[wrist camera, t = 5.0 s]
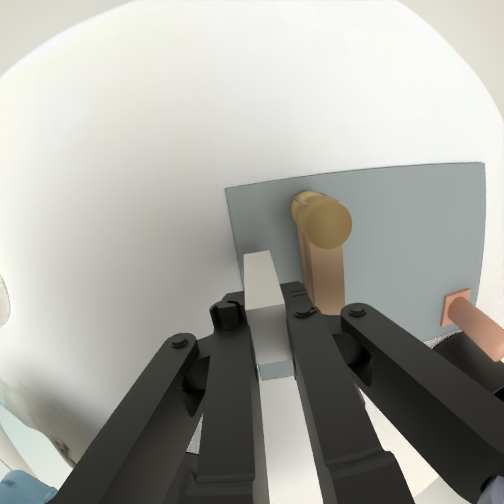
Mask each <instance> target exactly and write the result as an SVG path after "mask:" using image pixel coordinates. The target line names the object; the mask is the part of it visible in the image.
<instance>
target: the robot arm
mask: <svg viewBox="0 0 504 504" xmlns="http://www.w3.org/2000/svg"><path fill="white" fill-rule="evenodd" d="M244 287H245V291H240V292H234V293H228V294H226V295H225V296H224V298H223V299H222V301H220V302H217V303H215V304H214V305H213V306H211V308H210V310H209V311H210V314H211V318H212V322H213V325H214V333H213V334H211V335H210V336H207V337H205V338H202V339H199V340H196V337H195V336H194V335H193V334H190V333H179V334H176V335H173V336H172V337H170V338H168V339H167V340H166V341H165V342H164V344H163V345H162V346H161V348H160V349H159V350H158V352H157V353H156V354H155V356H154V357H153V359H152V360H151V361H150V363H149V364H148V365H147V367H146V368H145V370H144V371H143V372H142V374H141V375H140V376H139V378H138V379H137V380H136V382H135V383H134V385H133V386H132V387H131V389H130V390H129V392H128V393H127V394H126V396H125V397H124V398H123V400H122V401H121V403H120V404H119V405H118V407H117V408H116V410H115V411H114V412H113V414H112V415H111V417H110V418H109V419H108V421H107V422H106V424H105V425H104V426H103V428H102V429H101V431H100V432H99V433H98V435H97V436H96V438H95V439H94V440H93V442H92V443H91V445H90V446H89V448H88V449H87V450H86V452H85V453H84V455H83V456H82V458H81V459H80V460H79V462H78V463H77V465H76V466H75V468H74V469H73V470H72V472H71V473H70V475H69V476H68V478H67V479H66V481H65V482H64V483H63V485H62V486H61V488H60V489H59V491H58V490H57V489H55V488H54V487H50V486H48V485H46V484H44V483H43V482H41V481H39V480H38V479H36V478H35V477H33V476H31V475H30V474H28V473H26V472H24V471H21V470H13V471H10V472H9V473H8V474H7V475H6V476H5V477H4V478H3V480H2V481H1V482H0V504H270V501H269V490H268V479H267V468H266V457H265V446H264V435H263V423H262V412H261V400H260V389H259V377H258V370H257V365H261V364H267V363H273V362H279V361H285V360H291V359H292V361H293V369H294V377H295V380H296V381H297V385H298V390H299V394H300V398H301V403H302V407H303V412H304V416H305V420H306V425H307V429H308V434H309V438H310V443H311V447H312V452H313V457H314V461H315V466H316V470H317V475H318V480H319V484H320V489H321V494H322V498H323V503H324V504H415V502H414V500H413V497H412V495H411V492H410V490H409V487H408V485H407V483H406V480H405V478H404V476H403V473H402V471H401V469H400V466H399V464H398V462H397V460H396V458H395V456H394V454H393V453H392V452H390V451H385V450H384V449H383V448H382V446H381V444H380V441H379V439H378V437H377V434H376V432H375V430H374V427H373V425H372V423H371V420H370V418H369V416H368V413H367V411H366V409H365V407H364V404H363V402H362V400H361V398H360V395H359V393H358V391H357V389H356V386H355V384H354V382H355V383H356V384H357V386H358V387H359V388H360V389H361V390H362V391H363V392H364V393H365V394H366V396H367V397H368V398H369V399H370V400H371V401H372V402H373V403H374V404H375V406H376V407H377V408H378V409H379V410H380V411H381V412H382V413H383V414H384V415H385V417H386V418H387V419H388V420H389V421H390V422H391V423H392V424H393V425H394V426H395V428H396V429H397V430H398V431H399V432H400V433H401V434H402V435H403V436H404V437H405V439H406V440H407V441H408V442H409V443H410V444H411V445H412V446H413V447H414V448H415V449H416V451H417V452H418V453H419V454H420V455H421V456H422V457H423V458H424V459H425V460H426V461H427V462H428V464H429V465H430V466H431V467H432V468H433V469H434V470H435V471H436V472H437V473H438V474H439V475H440V476H441V478H442V479H443V480H444V481H445V482H446V483H447V484H448V485H449V486H450V487H451V488H452V489H453V490H454V491H455V492H456V493H457V494H458V495H459V496H461V497H462V498H464V499H465V500H467V501H468V502H470V503H471V504H504V402H503V401H501V400H500V399H499V398H497V397H496V396H495V395H493V394H492V393H491V392H489V391H488V390H487V389H485V388H484V387H483V386H481V385H480V384H479V383H477V382H476V381H475V380H473V379H472V378H471V377H469V376H468V375H467V374H465V373H464V372H463V371H461V370H460V369H459V368H457V367H456V366H454V365H453V364H452V363H450V362H449V361H448V360H446V359H445V358H444V357H442V356H441V355H439V354H438V353H437V352H435V351H434V350H432V349H431V348H430V347H428V346H427V345H426V344H424V343H423V342H421V341H420V340H419V339H417V338H416V337H414V336H413V335H412V334H410V333H409V332H407V331H406V330H405V329H403V328H402V327H400V326H399V325H398V324H396V323H395V322H393V321H392V320H390V319H389V318H388V317H386V316H385V315H383V314H382V313H381V312H379V311H378V310H376V309H375V308H373V307H372V306H370V305H368V304H365V303H352V304H348V305H346V306H344V307H343V308H342V309H341V312H340V315H326V314H322V313H321V311H320V309H319V308H318V307H316V306H313V303H312V301H311V299H310V297H309V295H308V293H307V291H306V288H305V286H304V284H302V283H300V282H299V281H294V282H288V283H283V284H279V281H278V278H277V275H276V271H275V268H274V264H273V261H272V258H271V254H270V251H269V250H268V251H262V252H256V253H250V254H244ZM256 364H257V365H256ZM353 381H354V382H353ZM202 414H203V421H202V430H201V439H200V449H199V456H198V455H193V454H188V453H185V452H186V450H187V448H188V445H189V443H190V441H191V439H192V436H193V434H194V432H195V430H196V427H197V425H198V423H199V421H200V418H201V416H202Z"/></svg>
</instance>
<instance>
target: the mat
mask: <svg viewBox="0 0 504 504" xmlns="http://www.w3.org/2000/svg"><path fill="white" fill-rule="evenodd" d="M225 190H226V195H227V201H228V206H229V212H230V217H231V223H232V228H233V234H234V239H235V245H236V250H237V255H238V261H239V266H240V271H241V277H242V282H243V287H244V254H250V253H256V252H262V251H268V250H269V251H270V254H271V258H272V261H273V264H274V268H275V271H276V275H277V278H278V281H279V284H283V283H288V282H294V281H299V282H300V283H302V284H304V281H303V272H302V263H301V254H300V245H299V237H298V229H297V224H296V223H295V222H294V220H293V219H292V216H291V204H292V202H293V200H294V198H293V196H297V195H299V194H300V193H302V192H305V191H314V192H317V193H320V192H322V193H324V194H326V195H328V196H330V197H333V198H335V199H337V200H339V203H340V204H342V205H343V206H344V207H345V208H346V209H347V210H348V211H349V213H350V215H351V218H352V230H351V233H350V235H349V237H348V239H347V240H346V241H345V242H344V243H343V244H342V247H343V263H344V284H345V306H346V305H348V304H352V303H365V304H368V305H370V306H372V307H373V308H375V309H376V310H378V311H379V312H381V313H382V314H383V315H385V316H386V317H388V318H389V319H390V320H392V321H393V322H395V323H396V324H398V325H399V326H400V327H402V328H403V329H405V330H406V331H407V332H409V333H410V334H412V335H413V336H414V337H416V338H417V339H419V340H420V341H421V342H425V341H428V340H431V339H434V338H437V337H439V336H442V335H445V334H448V333H450V332H453V331H456V330H458V329H460V328H459V327H458V326H457V325H456V324H455V323H452V324H450V325H447V326H444V327H441V326H440V322H441V315H442V309H443V302H444V295H447V294H450V293H454V292H457V291H460V290H463V289H466V288H470V289H471V292H470V299H469V302H470V303H472V304H473V305H474V306H476V301H477V295H478V289H479V283H480V276H481V268H482V260H483V250H484V237H485V218H486V177H485V163H453V164H431V165H414V166H399V167H387V168H375V169H364V170H354V171H345V172H336V173H327V174H319V175H311V176H303V177H296V178H289V179H282V180H275V181H269V182H262V183H256V184H250V185H244V186H238V187H232V188H226V189H225ZM244 291H245V287H244ZM259 369H260V373H261V378H262V381H264V380H270V379H276V378H282V377H288V376H294V369H293V361H292V359H291V360H285V361H279V362H273V363H267V364H261V365H259Z"/></svg>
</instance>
